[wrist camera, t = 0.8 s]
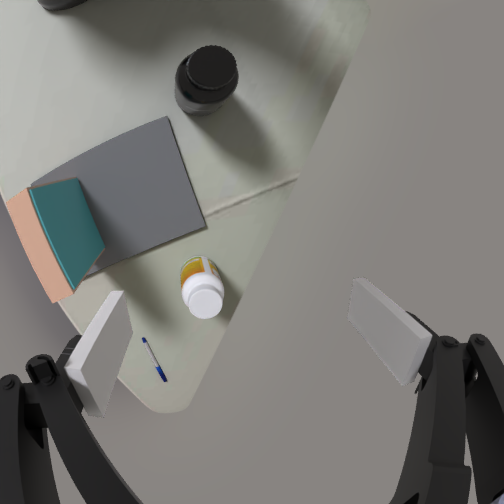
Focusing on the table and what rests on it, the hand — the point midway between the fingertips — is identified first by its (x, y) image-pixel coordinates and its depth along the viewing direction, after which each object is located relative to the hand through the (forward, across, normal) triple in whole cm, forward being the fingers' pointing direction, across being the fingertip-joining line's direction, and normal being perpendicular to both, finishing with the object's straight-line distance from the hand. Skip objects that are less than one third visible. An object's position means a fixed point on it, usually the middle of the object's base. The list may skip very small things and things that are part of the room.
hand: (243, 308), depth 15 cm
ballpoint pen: (+24, -13, -24) cm, 36 cm away
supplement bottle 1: (+25, -3, +18) cm, 30 cm away
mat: (+23, -15, +4) cm, 28 cm away
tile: (+22, -20, +2) cm, 30 cm away
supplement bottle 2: (+25, -4, -8) cm, 26 cm away
